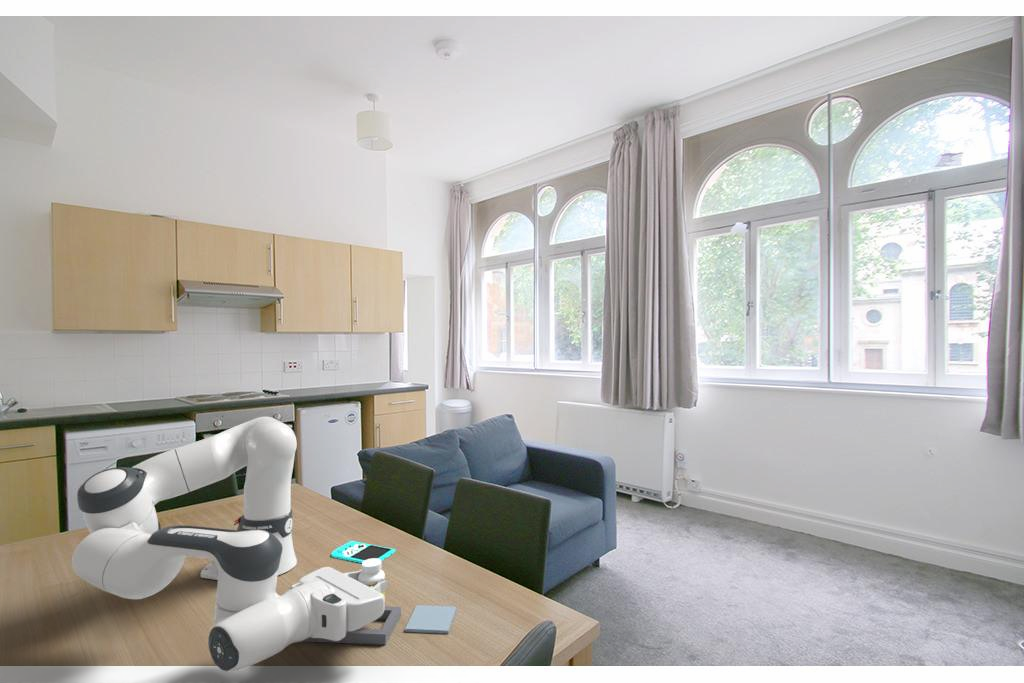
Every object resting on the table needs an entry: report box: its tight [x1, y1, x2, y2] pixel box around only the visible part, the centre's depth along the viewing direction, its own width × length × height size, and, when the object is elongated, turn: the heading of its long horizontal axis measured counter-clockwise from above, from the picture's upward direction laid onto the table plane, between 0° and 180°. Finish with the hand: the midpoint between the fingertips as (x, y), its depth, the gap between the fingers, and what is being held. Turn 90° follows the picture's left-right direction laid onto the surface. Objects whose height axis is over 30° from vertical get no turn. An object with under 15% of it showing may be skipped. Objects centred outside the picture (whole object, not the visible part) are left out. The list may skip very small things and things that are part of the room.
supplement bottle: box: [358, 558, 386, 597], centre depth 99 cm, size 5×5×10 cm
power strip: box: [302, 605, 402, 646], centre depth 100 cm, size 28×10×3 cm, turn 86°
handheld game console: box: [331, 540, 396, 564], centre depth 135 cm, size 10×16×1 cm, turn 68°
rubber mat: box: [404, 604, 458, 634], centre depth 103 cm, size 9×9×1 cm
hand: (375, 578), depth 100 cm, fingers closed on supplement bottle, 5 cm apart
